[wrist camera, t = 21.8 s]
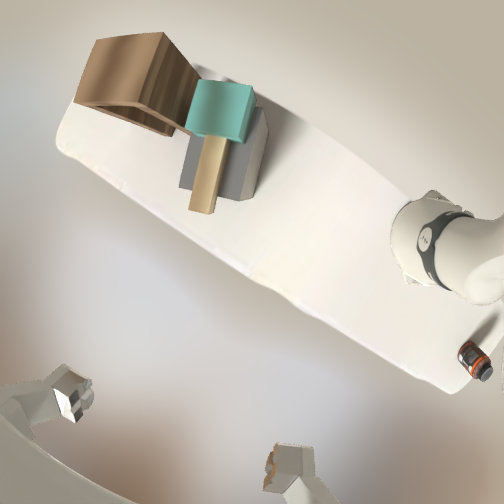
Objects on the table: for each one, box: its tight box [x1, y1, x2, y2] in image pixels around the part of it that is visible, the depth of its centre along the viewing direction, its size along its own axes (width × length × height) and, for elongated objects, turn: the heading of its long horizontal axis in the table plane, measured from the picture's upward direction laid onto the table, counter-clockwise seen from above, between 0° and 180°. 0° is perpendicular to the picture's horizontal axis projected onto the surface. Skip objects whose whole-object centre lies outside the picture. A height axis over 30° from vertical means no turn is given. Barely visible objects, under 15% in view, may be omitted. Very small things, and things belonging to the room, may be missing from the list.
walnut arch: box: [74, 32, 202, 137], centre depth 33 cm, size 9×8×26 cm
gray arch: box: [179, 107, 269, 201], centre depth 39 cm, size 8×12×15 cm, turn 166°
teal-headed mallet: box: [185, 79, 256, 215], centre depth 30 cm, size 6×15×5 cm, turn 166°
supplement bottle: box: [458, 342, 493, 382], centre depth 44 cm, size 6×6×11 cm
